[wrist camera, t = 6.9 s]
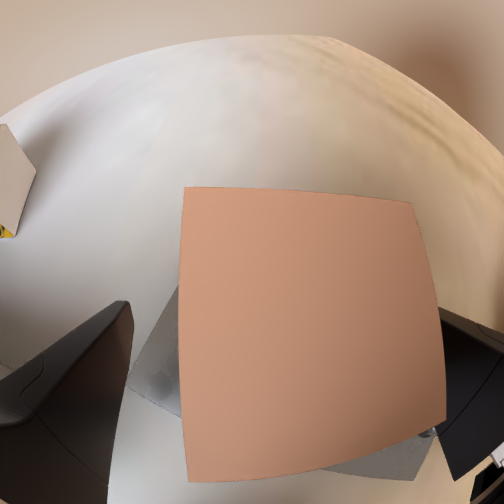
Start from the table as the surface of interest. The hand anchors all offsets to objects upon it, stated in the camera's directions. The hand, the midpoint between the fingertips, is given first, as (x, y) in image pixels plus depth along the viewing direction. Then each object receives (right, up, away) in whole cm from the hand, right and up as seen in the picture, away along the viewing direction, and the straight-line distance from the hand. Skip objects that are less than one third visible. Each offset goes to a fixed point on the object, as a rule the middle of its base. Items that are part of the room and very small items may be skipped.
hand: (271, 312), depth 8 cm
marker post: (-1, -4, +7) cm, 8 cm away
